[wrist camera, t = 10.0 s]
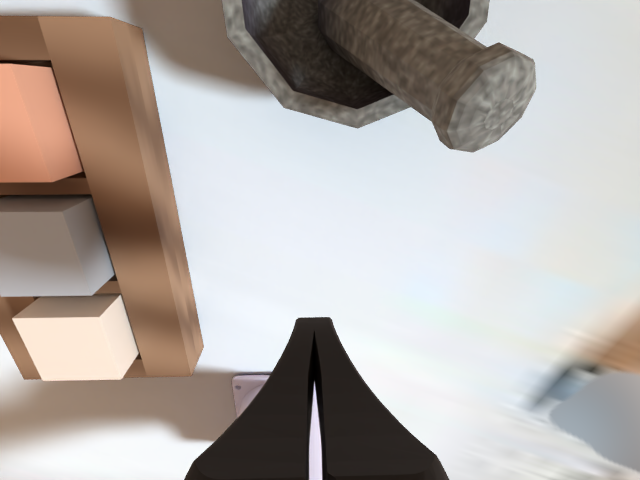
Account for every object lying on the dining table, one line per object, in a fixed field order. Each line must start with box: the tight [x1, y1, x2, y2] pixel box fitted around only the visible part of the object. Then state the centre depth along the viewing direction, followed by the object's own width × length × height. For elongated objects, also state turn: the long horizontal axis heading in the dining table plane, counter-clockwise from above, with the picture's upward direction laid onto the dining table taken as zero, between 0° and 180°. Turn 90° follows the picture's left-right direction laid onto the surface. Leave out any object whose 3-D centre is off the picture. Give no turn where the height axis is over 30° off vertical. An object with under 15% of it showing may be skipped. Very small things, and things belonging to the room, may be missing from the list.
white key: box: [12, 293, 139, 381], centre depth 21 cm, size 5×5×4 cm
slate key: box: [0, 194, 116, 297], centre depth 19 cm, size 5×5×4 cm
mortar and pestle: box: [222, 0, 536, 152], centre depth 12 cm, size 11×9×12 cm
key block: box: [0, 16, 204, 379], centre depth 20 cm, size 22×12×3 cm, turn 0°
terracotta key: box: [0, 64, 84, 182], centre depth 16 cm, size 5×5×4 cm
